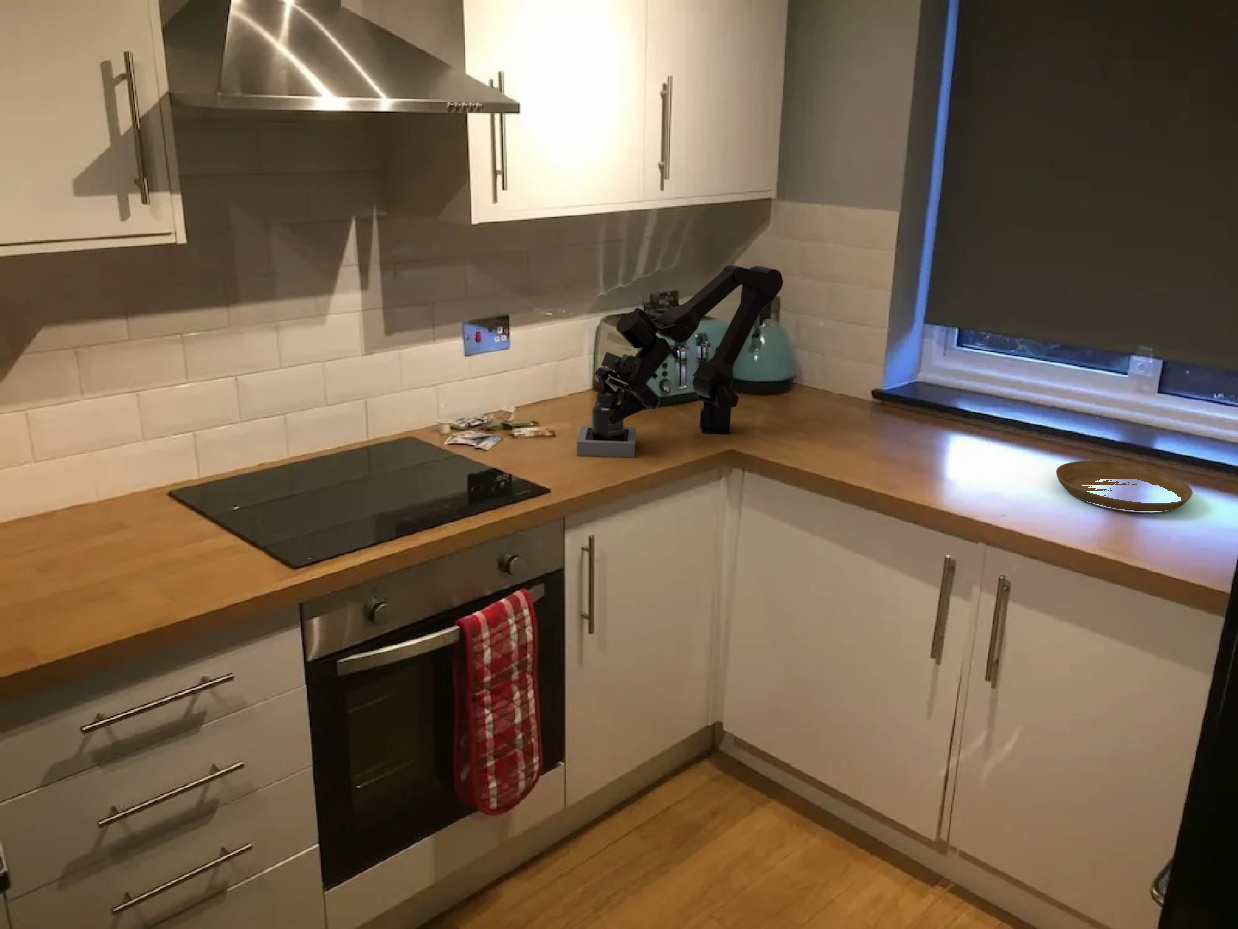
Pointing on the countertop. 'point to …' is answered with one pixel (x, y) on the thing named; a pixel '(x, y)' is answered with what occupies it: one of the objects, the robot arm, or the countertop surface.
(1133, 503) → the plant saucer
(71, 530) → the countertop surface
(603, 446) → the holder
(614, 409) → the supplement bottle
